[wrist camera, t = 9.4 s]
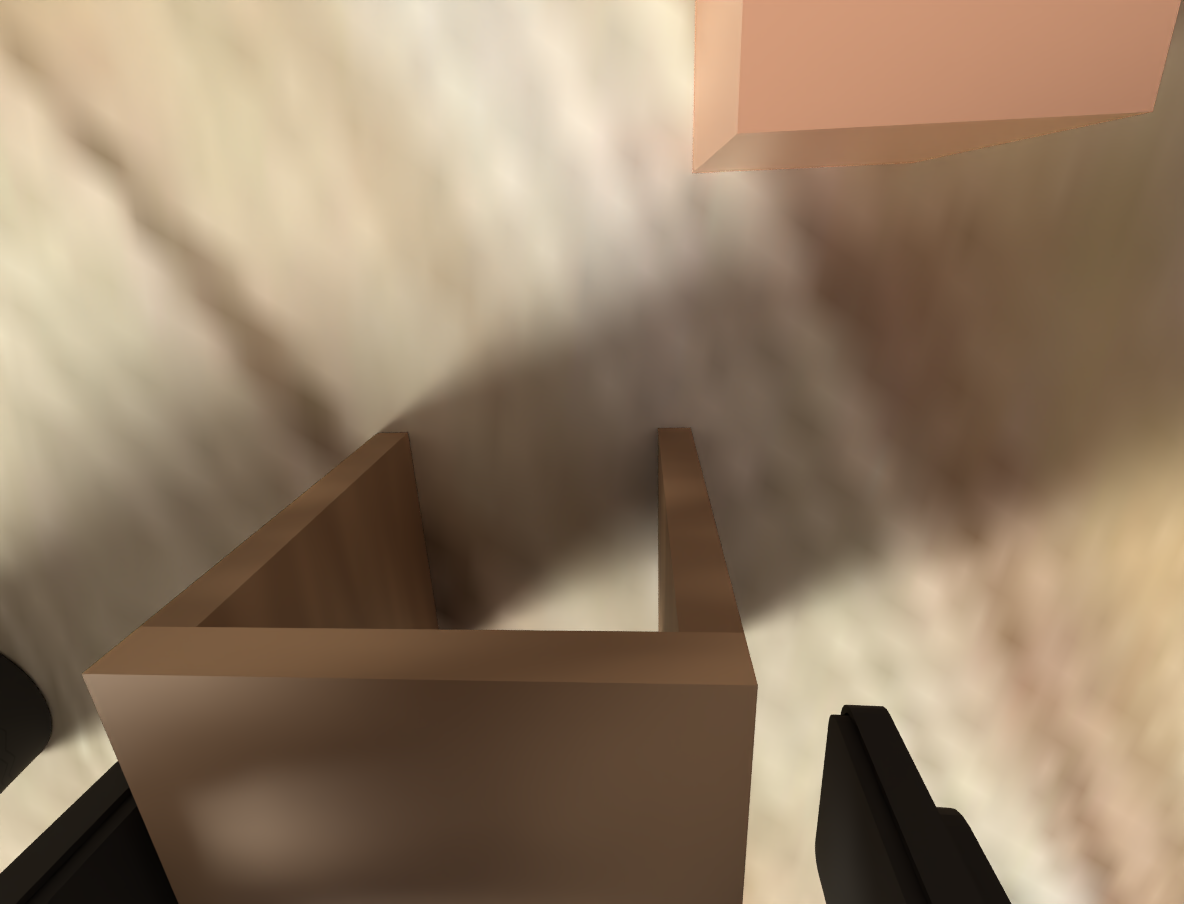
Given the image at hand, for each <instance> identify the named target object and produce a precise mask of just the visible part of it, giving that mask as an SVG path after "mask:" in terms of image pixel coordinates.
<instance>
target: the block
mask: <svg viewBox="0 0 1184 904" xmlns="http://www.w3.org/2000/svg"><path fill="white" fill-rule="evenodd" d="M1180 3H1181V0H695V55H694V111H693V166H692V173H710V172H731V171H752V170H773V169H794V168H815V167H836V166H857V165H878V164H899V163H915V162H920V161H925V160H929V159H934V158H939V157H943V156H948V155H953V154H957V153H962V152H967V151H971V150H976V149H981V148H985V147H990V146H995V145H1000V144H1004V143H1009V142H1014V141H1018V140H1023V139H1028V138H1032V137H1037V136H1042V135H1046V134H1051V133H1056V132H1060V131H1065V130H1070V129H1074V128H1079V127H1084V126H1089V125H1093V124H1098V123H1103V122H1107V121H1112V120H1117V119H1121V118H1126V117H1131V116H1135V115H1140V114H1145V113H1149V112H1153V109H1154V105H1155V101H1156V97H1157V93H1158V89H1159V85H1160V81H1161V77H1162V73H1163V69H1164V66H1165V62H1166V58H1167V54H1168V50H1169V46H1170V42H1171V38H1172V34H1173V30H1174V26H1175V22H1176V19H1177V15H1178V11H1179V7H1180Z"/></svg>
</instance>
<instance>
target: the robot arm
mask: <svg viewBox="0 0 1184 904" xmlns="http://www.w3.org/2000/svg"><path fill="white" fill-rule="evenodd" d="M815 854H816V863H817V869H818V873H819V877H820V881H821V885H822V889H823V893H824V896H825V900H826V904H1011V902H1010V900H1009V898H1008V897H1007V895H1006V893H1005V891H1004V889H1003V887H1002V885H1001V884H1000V882H999V880H998V878H997V876H996V874H995V873H994V871H993V869H992V867H991V865H990V863H989V861H988V860H987V858H986V856H985V854H984V852H983V850H982V849H981V847H980V845H979V843H978V841H977V839H976V837H975V836H974V834H973V832H972V830H971V828H970V826H969V825H968V823H967V822H966V820H965V819H964V817H963V816H962V815H961V814H960V813H959V812H958V811H957V810H956V809H952V808H943V807H936V806H935V804H934V802H933V800H932V798H931V796H930V794H929V792H928V790H927V788H926V786H925V784H924V782H923V780H922V778H921V776H920V774H919V772H918V770H917V768H916V766H915V764H914V762H913V760H912V758H911V756H910V754H909V752H908V750H907V748H906V746H905V744H904V742H903V740H902V738H901V736H900V734H899V732H898V730H897V728H896V726H895V724H894V722H893V720H892V718H891V716H890V714H889V712H888V711H887V709H886V708H884V707H883V706H861V705H844V706H843V708H842V711H841V715H831V716H830V718H829V724H828V733H827V742H826V751H825V760H824V769H823V778H822V787H821V796H820V805H819V814H818V823H817V832H816V841H815ZM0 904H178V901H177V899H176V896H175V894H174V892H173V889H172V887H171V885H170V882H169V880H168V878H167V875H166V873H165V870H164V868H163V866H162V863H161V861H160V859H159V856H158V854H157V852H156V849H155V847H154V844H153V842H152V840H151V837H150V835H149V833H148V830H147V828H146V825H145V823H144V821H143V818H142V816H141V814H140V811H139V809H138V807H137V804H136V802H135V799H134V797H133V795H132V792H131V790H130V788H129V785H128V783H127V780H126V778H125V776H124V773H123V771H122V769H121V766H120V764H119V762H118V761H117V762H116V763H115V764H114V765H113V766H112V767H111V768H110V769H109V770H108V771H107V772H106V773H105V774H104V775H103V776H102V777H101V778H100V779H99V780H98V781H96V782H95V783H94V784H93V785H92V786H91V787H90V788H89V789H88V790H87V791H86V792H85V793H84V794H83V795H82V796H81V797H80V798H79V799H78V800H77V801H76V802H75V803H74V804H72V805H71V806H70V807H69V808H68V809H67V810H66V811H65V812H64V813H63V814H62V815H61V816H60V817H59V818H58V819H57V820H56V821H55V822H54V823H53V824H52V825H51V826H50V827H48V828H47V829H46V830H45V831H44V832H43V833H42V834H41V835H40V836H39V837H38V838H37V839H36V840H35V841H34V842H33V843H32V844H31V845H30V846H29V847H28V848H27V849H26V850H24V851H23V852H22V853H21V854H20V855H19V856H18V857H17V858H16V859H15V860H14V861H13V862H12V863H11V864H10V865H9V866H8V867H7V868H6V869H5V870H4V871H3V872H1V873H0Z"/></svg>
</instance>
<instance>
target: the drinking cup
mask: <svg viewBox="0 0 1184 904" xmlns="http://www.w3.org/2000/svg"><path fill="white" fill-rule="evenodd" d="M50 734H51V717H50V713H49V709H48V707H47V704H46V702H45V700H44V698H43V696H42V694H41V693H40V691H39V690H38V688H37V687H36V686H35V684H34V683H33V682H32V681H31V680H30V679H29V677H28V676H27V675H26V674H25V673H24V672H23V671H22V670H20V669H19V668H18V667H17V666H16V665H15V664H13V663H12V662H11V661H10V660H8V659H7V658H5V657H4V656H2V655H1V654H0V794H1V793H2V792H3V791H4V790H5V788H6V787H7V786H8V785H9V784H10V783H11V782H12V781H13V780H14V779H15V778H16V777H17V776H18V775H19V774H20V773H21V772H22V771H23V770H24V769H25V768H26V767H27V766H28V765H29V764H30V763H31V762H32V761H33V760H34V759H35V758H36V757H37V756H38V755H39V754H40V753H41V751H42V750H43V749H44V748H45V746H46V744H47V743H48V740H49V738H50Z"/></svg>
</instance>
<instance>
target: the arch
mask: <svg viewBox="0 0 1184 904" xmlns="http://www.w3.org/2000/svg"><path fill="white" fill-rule="evenodd" d="M658 613H659V632H633V631H534V630H439V627H438V621H437V614H436V608H435V602H434V595H433V589H432V583H431V576H430V570H429V563H428V557H427V551H426V544H425V538H424V532H423V525H422V519H421V513H420V506H419V500H418V493H417V487H416V481H415V474H414V468H413V462H412V455H411V449H410V443H409V436H408V432H400V433H377V434H376V435H375V436H373V437H372V438H371V439H370V440H368V441H367V442H366V443H365V444H363V445H362V446H361V447H360V448H359V449H357V450H356V451H355V452H354V453H352V454H351V455H350V456H349V457H348V458H346V459H345V460H344V461H343V462H341V463H340V464H339V465H338V466H336V467H335V468H334V469H333V470H332V471H330V472H329V473H328V474H327V475H325V476H324V477H323V478H322V479H320V480H319V481H318V482H317V483H316V484H314V485H313V486H312V487H311V488H309V489H308V490H307V491H306V492H304V493H303V494H302V495H301V496H300V497H298V498H297V499H296V500H295V501H293V502H292V503H291V504H290V505H289V506H287V507H286V508H285V509H284V510H282V511H281V512H280V513H279V514H277V515H276V516H275V517H274V518H273V519H271V520H270V521H269V522H268V523H266V524H265V525H264V526H263V527H261V528H260V529H259V530H258V531H257V532H255V533H254V534H253V535H252V536H250V537H249V538H248V539H247V540H246V541H244V542H243V543H242V544H241V545H239V546H238V547H237V548H236V549H234V550H233V551H232V552H231V553H230V554H228V555H227V556H226V557H225V558H223V559H222V560H221V561H220V562H218V563H217V564H216V565H215V566H214V567H212V568H211V569H210V570H209V571H207V572H206V573H205V574H204V575H202V576H201V577H200V578H199V579H198V580H196V581H195V582H194V583H193V584H191V585H190V586H189V587H188V588H187V589H185V590H184V591H183V592H182V593H180V594H179V595H178V596H177V597H175V598H174V599H173V600H172V601H171V602H169V603H168V604H167V605H166V606H164V607H163V608H162V609H161V610H159V611H158V612H157V613H156V614H155V615H153V616H152V617H151V618H150V619H148V620H147V621H146V622H145V623H144V624H142V625H141V626H140V627H139V628H137V629H136V630H135V631H134V632H132V633H131V634H130V635H129V636H128V637H126V638H125V639H124V640H123V641H121V642H120V643H119V644H118V645H116V646H115V647H114V648H113V649H112V650H110V651H109V652H108V653H107V654H105V655H104V656H103V657H102V658H100V659H99V660H98V661H97V662H96V663H94V664H93V665H92V666H91V667H89V668H88V669H87V670H86V671H85V672H83V673H82V676H83V679H84V681H85V683H86V686H87V688H88V691H89V693H90V695H91V698H92V700H93V702H94V705H95V707H96V709H97V712H98V714H99V717H100V719H101V721H102V724H103V726H104V728H105V731H106V733H107V736H108V738H109V740H110V743H111V745H112V747H113V750H114V752H115V754H116V757H117V759H118V762H119V764H120V766H121V769H122V771H123V773H124V776H125V778H126V780H127V783H128V785H129V788H130V790H131V792H132V795H133V797H134V799H135V802H136V804H137V807H138V809H139V811H140V814H141V816H142V818H143V821H144V823H145V825H146V828H147V830H148V833H149V835H150V837H151V840H152V842H153V844H154V847H155V849H156V852H157V854H158V856H159V859H160V861H161V863H162V866H163V868H164V870H165V873H166V875H167V878H168V880H169V882H170V885H171V887H172V889H173V892H174V894H175V896H176V899H177V901H178V904H742V902H743V887H744V873H745V859H746V845H747V831H748V816H749V802H750V788H751V774H752V760H753V746H754V731H755V717H756V703H757V689H758V684H757V681H756V677H755V673H754V669H753V665H752V661H751V658H750V654H749V650H748V646H747V642H746V638H745V635H744V631H743V627H742V623H741V619H740V615H739V612H738V608H737V604H736V600H735V596H734V592H733V589H732V585H731V581H730V577H729V573H728V569H727V566H726V562H725V558H724V554H723V550H722V546H721V543H720V539H719V535H718V531H717V527H716V523H715V520H714V516H713V512H712V508H711V504H710V500H709V497H708V493H707V489H706V485H705V481H704V477H703V473H702V470H701V466H700V462H699V458H698V454H697V450H696V447H695V443H694V439H693V435H692V431H691V428H658Z"/></svg>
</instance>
